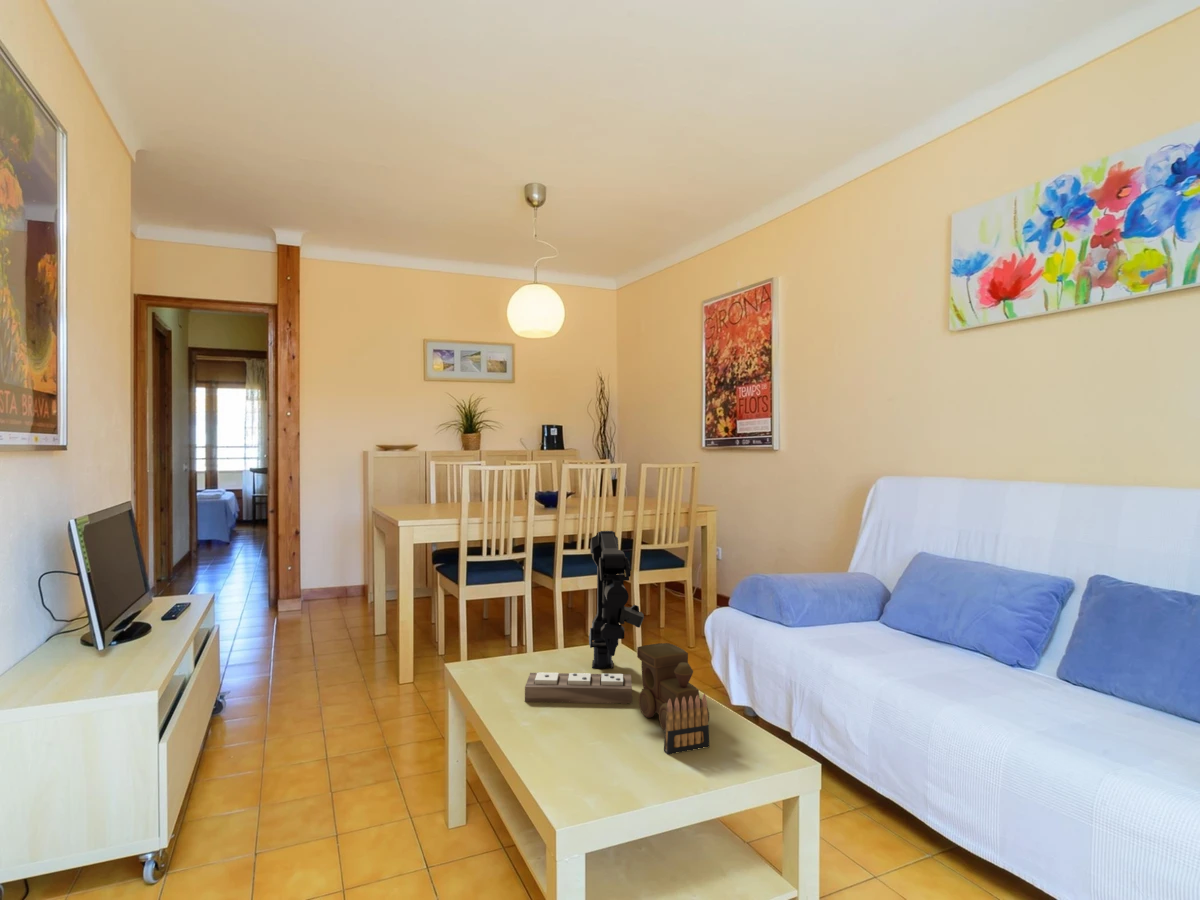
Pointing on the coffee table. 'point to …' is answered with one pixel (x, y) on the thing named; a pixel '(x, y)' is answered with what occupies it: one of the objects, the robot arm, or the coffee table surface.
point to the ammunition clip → (686, 726)
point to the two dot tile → (579, 679)
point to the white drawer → (546, 678)
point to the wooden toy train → (665, 679)
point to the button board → (578, 691)
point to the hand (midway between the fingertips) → (612, 655)
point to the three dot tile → (612, 679)
